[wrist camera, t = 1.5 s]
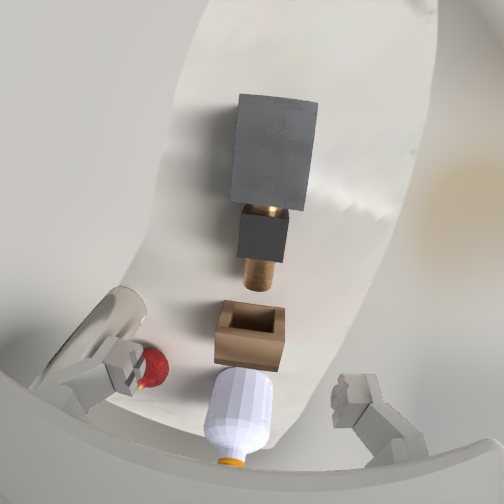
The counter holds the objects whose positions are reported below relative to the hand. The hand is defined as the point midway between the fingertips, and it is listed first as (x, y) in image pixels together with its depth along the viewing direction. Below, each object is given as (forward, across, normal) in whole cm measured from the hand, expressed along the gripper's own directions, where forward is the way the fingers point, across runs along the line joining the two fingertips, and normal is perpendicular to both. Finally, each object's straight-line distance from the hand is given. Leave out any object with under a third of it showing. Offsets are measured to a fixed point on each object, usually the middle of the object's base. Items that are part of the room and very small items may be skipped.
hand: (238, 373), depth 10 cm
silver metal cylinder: (+21, +18, +15) cm, 31 cm away
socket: (+21, 0, +13) cm, 25 cm away
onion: (+21, +14, +23) cm, 34 cm away
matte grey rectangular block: (+20, 0, -7) cm, 22 cm away
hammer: (+20, 0, -2) cm, 20 cm away
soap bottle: (+22, 0, +27) cm, 34 cm away
